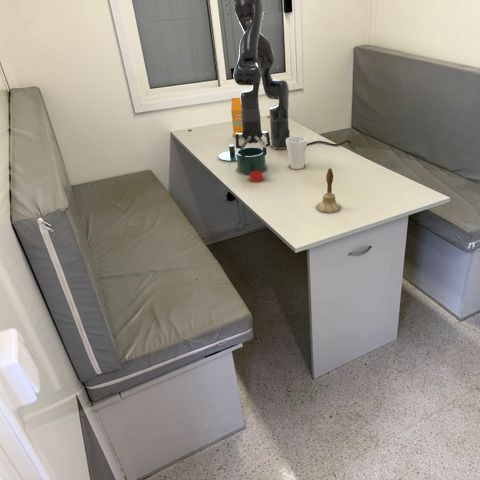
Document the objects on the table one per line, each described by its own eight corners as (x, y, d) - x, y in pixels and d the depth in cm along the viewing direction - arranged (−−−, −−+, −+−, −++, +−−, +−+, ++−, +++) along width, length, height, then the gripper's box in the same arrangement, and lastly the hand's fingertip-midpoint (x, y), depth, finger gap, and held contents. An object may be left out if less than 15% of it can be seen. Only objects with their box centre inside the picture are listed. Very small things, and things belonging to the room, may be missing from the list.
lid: (245, 151, 218) (244, 140, 215) (247, 161, 207) (246, 149, 203) (218, 153, 215) (217, 141, 212) (218, 163, 204) (217, 151, 201)
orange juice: (249, 136, 239) (246, 99, 228) (233, 136, 239) (229, 99, 229) (251, 132, 246) (248, 96, 235) (236, 132, 246) (232, 96, 235)
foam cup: (310, 164, 203) (310, 137, 196) (301, 171, 196) (301, 144, 189) (292, 161, 206) (291, 135, 200) (283, 168, 199) (282, 141, 193)
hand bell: (338, 202, 169) (339, 164, 161) (340, 212, 162) (341, 173, 154) (317, 203, 169) (317, 164, 160) (318, 212, 162) (318, 173, 153)
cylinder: (262, 176, 191) (261, 170, 190) (263, 181, 187) (262, 175, 185) (249, 177, 190) (248, 171, 189) (250, 182, 186) (249, 176, 184)
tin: (264, 163, 205) (262, 146, 200) (267, 173, 194) (265, 155, 190) (237, 165, 202) (235, 148, 198) (238, 175, 192) (236, 157, 187)
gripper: (267, 114, 179) (269, 152, 187) (232, 116, 176) (236, 154, 185) (269, 119, 173) (271, 158, 181) (233, 121, 170) (237, 160, 178)
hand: (254, 156), depth 183 cm, fingers open, 8 cm apart
